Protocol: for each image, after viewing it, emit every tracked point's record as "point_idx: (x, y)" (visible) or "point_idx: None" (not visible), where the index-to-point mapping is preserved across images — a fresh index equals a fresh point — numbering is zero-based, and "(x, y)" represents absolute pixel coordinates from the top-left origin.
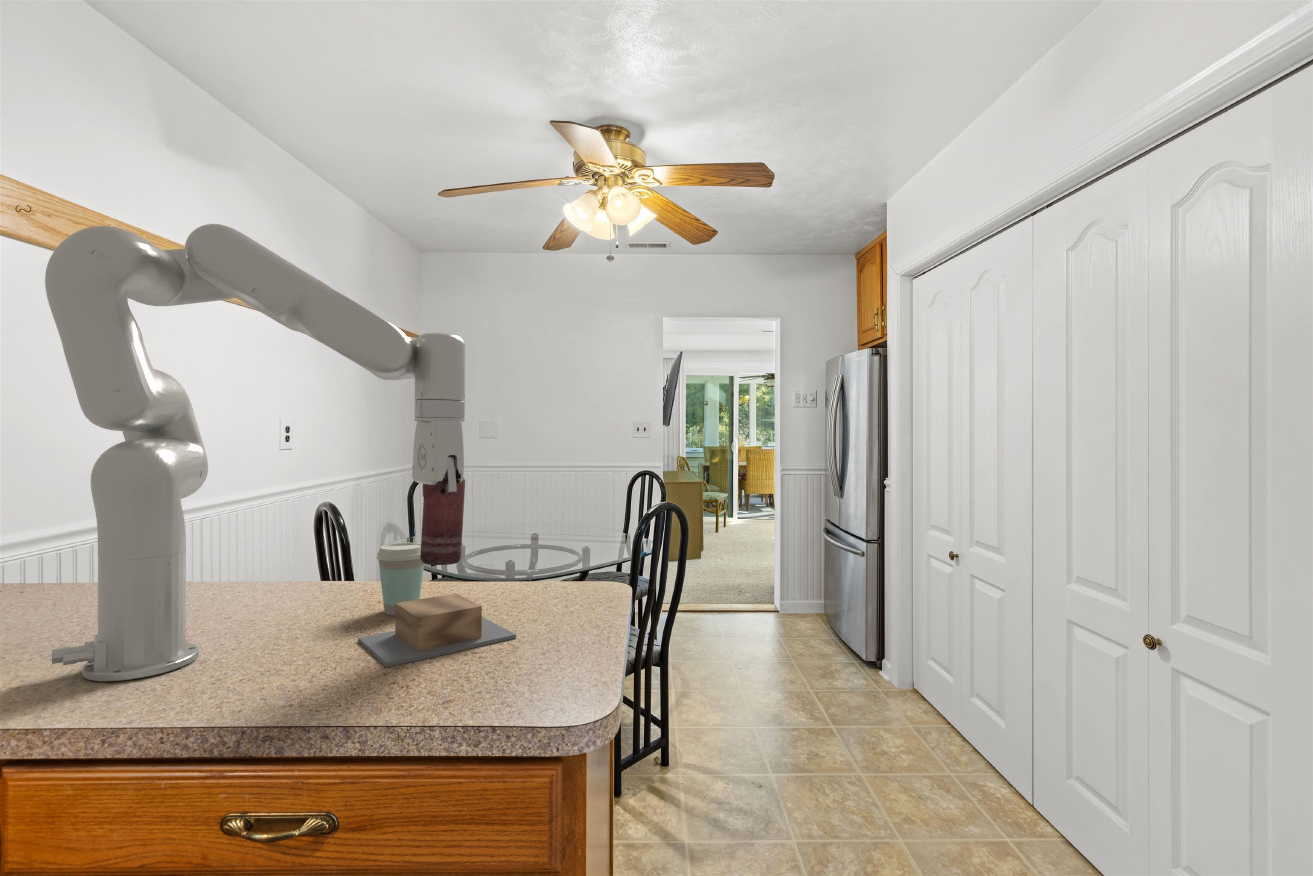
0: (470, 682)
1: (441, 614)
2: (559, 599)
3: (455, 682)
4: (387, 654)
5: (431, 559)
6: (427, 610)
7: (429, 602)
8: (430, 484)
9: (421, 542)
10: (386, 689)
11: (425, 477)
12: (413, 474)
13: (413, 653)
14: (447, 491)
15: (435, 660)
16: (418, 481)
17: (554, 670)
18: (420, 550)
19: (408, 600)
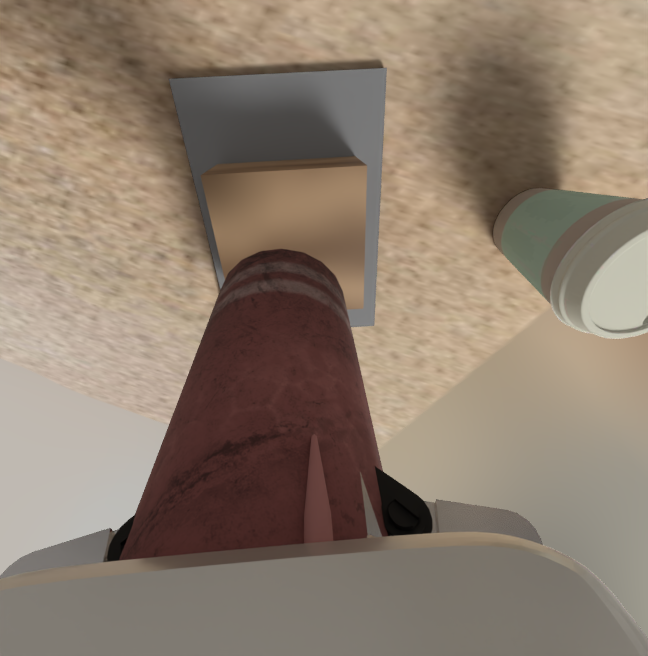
0: (35, 199)
1: (214, 232)
2: (382, 436)
3: (41, 177)
4: (226, 97)
5: (232, 271)
6: (253, 214)
7: (323, 239)
8: (50, 570)
9: (288, 276)
10: (31, 34)
11: (99, 651)
12: (561, 626)
13: (207, 151)
14: (40, 559)
15: (176, 184)
16: (357, 550)
17: (60, 322)
18: (574, 317)
19: (505, 237)
